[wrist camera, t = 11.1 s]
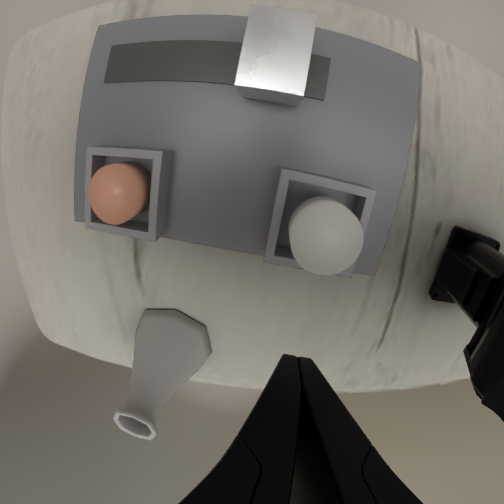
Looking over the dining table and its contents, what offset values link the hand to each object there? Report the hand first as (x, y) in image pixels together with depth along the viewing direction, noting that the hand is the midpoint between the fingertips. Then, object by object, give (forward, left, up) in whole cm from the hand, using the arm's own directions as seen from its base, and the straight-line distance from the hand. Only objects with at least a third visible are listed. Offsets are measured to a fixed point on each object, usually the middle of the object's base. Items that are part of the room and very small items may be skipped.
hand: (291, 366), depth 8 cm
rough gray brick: (+2, -10, -10) cm, 14 cm away
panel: (+4, -6, -13) cm, 15 cm away
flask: (+7, +12, -13) cm, 19 cm away
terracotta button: (+10, -2, -10) cm, 15 cm away
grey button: (-2, -2, -9) cm, 9 cm away
